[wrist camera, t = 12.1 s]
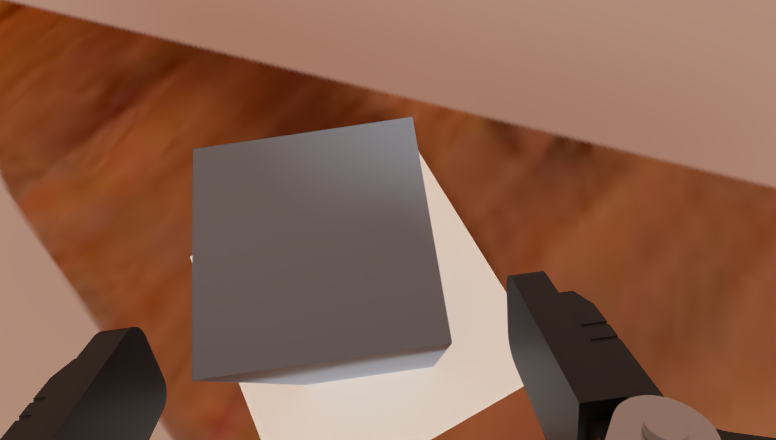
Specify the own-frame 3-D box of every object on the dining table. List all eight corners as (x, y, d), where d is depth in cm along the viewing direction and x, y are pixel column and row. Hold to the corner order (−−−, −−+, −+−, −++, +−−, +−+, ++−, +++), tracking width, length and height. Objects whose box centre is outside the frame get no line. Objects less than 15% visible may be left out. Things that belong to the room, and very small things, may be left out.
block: (413, 244, 20) (412, 116, 11) (433, 366, 18) (452, 343, 9) (296, 261, 20) (193, 149, 11) (305, 385, 18) (191, 380, 9)
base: (414, 181, 25) (414, 145, 22) (529, 372, 22) (553, 368, 18) (224, 277, 24) (190, 256, 20) (314, 496, 21) (292, 519, 17)
